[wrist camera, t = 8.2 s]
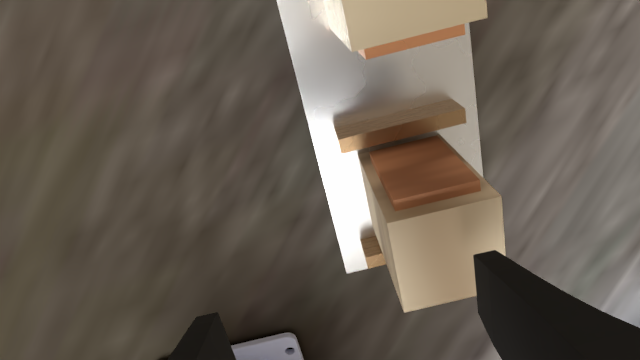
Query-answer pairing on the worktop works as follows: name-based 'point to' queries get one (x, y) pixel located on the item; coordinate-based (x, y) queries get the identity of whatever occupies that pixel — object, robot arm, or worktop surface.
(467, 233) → the block
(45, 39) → the worktop surface
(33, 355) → the worktop surface
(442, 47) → the beige piece
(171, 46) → the worktop surface
